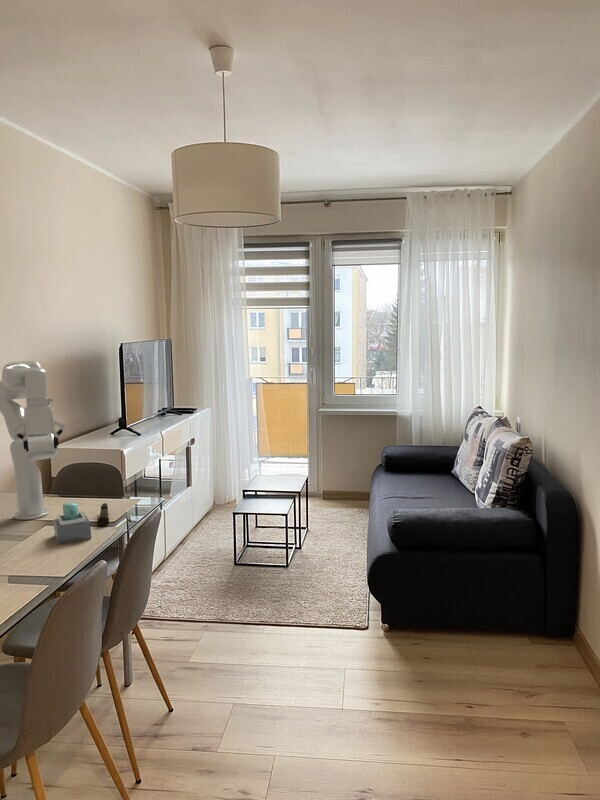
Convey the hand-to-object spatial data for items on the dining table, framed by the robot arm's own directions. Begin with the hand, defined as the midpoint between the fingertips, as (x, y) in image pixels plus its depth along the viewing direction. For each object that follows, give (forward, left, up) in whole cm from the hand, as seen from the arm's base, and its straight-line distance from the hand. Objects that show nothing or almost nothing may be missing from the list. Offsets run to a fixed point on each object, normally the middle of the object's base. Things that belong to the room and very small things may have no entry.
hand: (41, 449), depth 236 cm
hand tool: (-2, +20, -31) cm, 37 cm away
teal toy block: (+14, +7, -24) cm, 29 cm away
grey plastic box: (+14, +7, -30) cm, 34 cm away
